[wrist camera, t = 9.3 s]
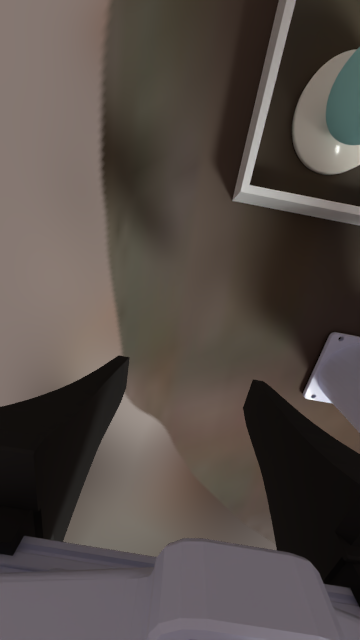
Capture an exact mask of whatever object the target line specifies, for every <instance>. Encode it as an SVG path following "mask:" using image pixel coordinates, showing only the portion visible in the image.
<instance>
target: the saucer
mask: <svg viewBox="0 0 360 640" xmlns="http://www.w3.org/2000/svg"><path fill="white" fill-rule="evenodd" d="M356 50H357V49H354V50H350V51H346V52H344V53H341V54H339V55H337V56H335V57H333V58H332V59H331V60H329V61H328V62H326V63H325V64H324V65H323V66H322V67H321V68H320V69H319V70H318V71H317V72H316V73H315V75H314V76H313V77H312V79H311V80H310V81H309V83H308V84H307V86H306V87H305V88H304V90H303V92H302V94H301V96H300V98H299V100H298V102H297V105H296V108H295V111H294V116H293V121H292V140H293V145H294V148H295V151H296V154H297V156H298V157H299V159H300V160H301V162H302V163H303V164H304V165H305V166H306V167H307V168H308V169H310V170H311V171H313V172H316V173H319V174H323V175H335V174H340V173H343V172H346V171H348V170H350V169H352V168H355V167H357V166H358V165H360V145H347V144H343V143H341V142H339V141H337V140H336V139H335V138H334V137H333V136H332V135H331V134H330V132H329V130H328V127H327V123H326V106H327V101H328V97H329V94H330V91H331V88H332V86H333V84H334V82H335V80H336V78H337V76H338V74H339V72H340V71H341V69H342V68H343V66H344V65H345V63H346V62H347V61H348V59H349V58H350V57H351V56H352V55H353V53H354V52H355V51H356Z"/></svg>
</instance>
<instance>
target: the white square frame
mask: <svg viewBox="0 0 360 640" xmlns="http://www.w3.org/2000/svg"><path fill="white" fill-rule="evenodd" d="M295 2H296V0H279V2H278V6H277V10H276V15H275V19H274V23H273V27H272V32H271V36H270V40H269V45H268V49H267V53H266V58H265V62H264V66H263V70H262V75H261V79H260V83H259V88H258V92H257V96H256V101H255V105H254V109H253V113H252V118H251V122H250V126H249V131H248V135H247V139H246V144H245V148H244V152H243V156H242V161H241V165H240V169H239V174H238V178H237V182H236V187H235V191H234V195H233V199H232V201H236V202H241V203H247V204H252V205H257V206H262V207H267V208H272V209H277V210H282V211H287V212H292V213H298V214H303V215H308V216H313V217H318V218H323V219H328V220H333V221H338V222H344V223H349V224H354V225H359V226H360V207H358V206H353V205H348V204H343V203H338V202H333V201H328V200H323V199H318V198H313V197H308V196H303V195H298V194H293V193H288V192H282V191H277V190H272V189H267V188H262V187H257V186H252V185H250V181H251V177H252V173H253V169H254V165H255V161H256V157H257V153H258V149H259V145H260V141H261V137H262V133H263V129H264V125H265V121H266V117H267V113H268V109H269V105H270V101H271V97H272V93H273V89H274V86H275V82H276V78H277V74H278V70H279V66H280V62H281V58H282V54H283V50H284V46H285V42H286V38H287V34H288V30H289V26H290V22H291V18H292V14H293V10H294V6H295Z"/></svg>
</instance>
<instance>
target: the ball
mask: <svg viewBox="0 0 360 640" xmlns="http://www.w3.org/2000/svg"><path fill="white" fill-rule="evenodd" d="M326 123H327V127H328V130H329V132H330V134H331V135H332V136H333V137H334V138H335V139H336V140H337V141H339V142H341V143H343V144H347V145H360V47H359V48H358V49H357V50H356V51H355V52H354V53H353V55H352V56H351V57H350V58H349V59H348V61H347V62H346V63H345V65H344V66H343V68H342V69H341V71H340V72H339V74H338V76H337V78H336V80H335V82H334V84H333V86H332V88H331V91H330V94H329V97H328V101H327V106H326Z"/></svg>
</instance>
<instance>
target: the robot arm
mask: <svg viewBox="0 0 360 640" xmlns="http://www.w3.org/2000/svg"><path fill="white" fill-rule="evenodd" d="M339 337H341V339H339ZM338 339H339V340H338ZM128 366H129V357H124V356H117V357H116V358H114V359H113V360H111V361H110V362H108V363H107V364H105V365H104V366H102V367H100V368H99V369H97V370H96V371H94V372H92V373H90V374H89V375H87V376H85V377H83V378H81V379H80V380H78V381H76V382H73V383H71V384H69V385H67V386H65V387H62V388H60V389H58V390H55V391H52V392H49V393H47V394H44V395H41V396H38V397H35V398H32V399H29V400H25V401H22V402H18V403H15V404H11V405H7V406H3V407H0V640H360V454H359V453H357V452H355V451H354V450H352V449H350V448H349V447H347V446H346V445H344V444H342V443H341V442H339V441H338V440H336V439H335V438H333V437H332V436H330V435H329V434H328V433H326V432H325V431H323V430H322V429H321V428H319V427H318V426H316V425H315V424H314V423H312V422H311V421H310V420H309V419H307V418H306V417H305V416H304V415H302V414H301V413H300V412H299V411H298V410H296V409H295V408H294V407H293V406H292V405H290V404H289V403H288V402H287V401H286V400H285V399H284V398H282V397H281V396H280V395H279V394H278V393H277V392H276V391H275V390H273V389H272V388H271V387H270V386H269V385H267V384H266V383H265V382H263V381H258V380H253V381H252V384H251V387H250V390H249V392H248V395H247V398H246V401H245V404H244V407H243V410H244V416H245V421H246V426H247V429H248V432H249V435H250V439H251V442H252V445H253V448H254V451H255V454H256V457H257V460H258V463H259V466H260V470H261V473H262V477H263V481H264V486H265V490H266V494H267V499H268V504H269V509H270V514H271V519H272V524H273V530H274V536H275V541H276V547H277V550H271V549H264V548H258V547H252V546H246V545H240V544H234V543H228V542H222V541H215V540H209V539H203V538H183V539H180V540H177V541H175V542H172V543H169V544H168V545H167V546H166V547H165V548H164V549H163V550H162V551H161V553H160V554H159V555H158V557H153V556H147V555H140V554H135V553H129V552H122V551H116V550H110V549H103V548H97V547H91V546H85V545H79V544H72V543H66V542H63V540H64V537H65V534H66V531H67V528H68V526H69V523H70V520H71V517H72V514H73V512H74V509H75V506H76V503H77V501H78V498H79V496H80V493H81V490H82V487H83V485H84V482H85V480H86V477H87V474H88V472H89V469H90V467H91V464H92V462H93V459H94V456H95V454H96V451H97V449H98V447H99V445H100V442H101V440H102V438H103V436H104V434H105V432H106V430H107V428H108V426H109V424H110V422H111V421H112V418H113V417H114V415H115V413H116V411H117V409H118V407H119V405H120V403H121V400H122V397H123V395H124V392H125V389H126V384H127V375H128ZM313 394H314V395H313ZM312 395H313V396H312ZM303 396H304V397H305V398H306V399H310V400H316V401H322V402H327V403H333V404H334V405H335V406H336V408H337V409H338V410H339V411H340V412H341V413H342V414H343V415H344V416H345V417H346V418H347V420H348V421H349V422H350V423H351V424H352V425H353V426H354V427H355V428H356V429H357V430H358V431H359V433H360V337H359V336H354V335H348V334H343V333H338V332H333V333H331V334H330V335H329V337H328V339H327V341H326V344H325V346H324V348H323V350H322V352H321V355H320V357H319V359H318V361H317V363H316V365H315V368H314V370H313V372H312V374H311V376H310V379H309V381H308V383H307V385H306V387H305V389H304V392H303Z"/></svg>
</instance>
